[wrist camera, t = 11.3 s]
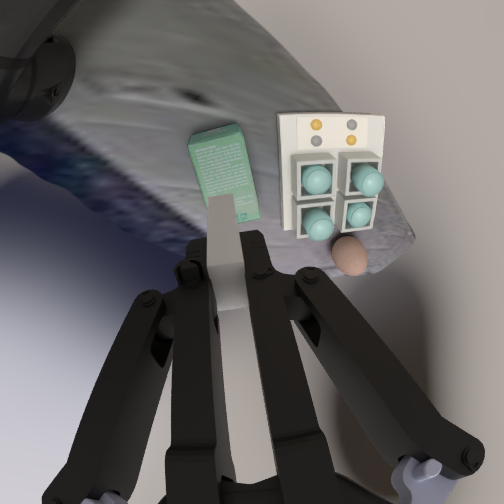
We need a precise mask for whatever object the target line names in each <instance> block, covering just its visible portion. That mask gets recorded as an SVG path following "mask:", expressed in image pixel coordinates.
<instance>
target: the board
mask: <svg viewBox="0 0 504 504" xmlns="http://www.w3.org/2000/svg"><path fill="white" fill-rule="evenodd" d="M276 114H277V131H278V149H279V170H280V195H281V225H282V227H283V230H284V231H285V230H292V229H293V232H294V234H295V236H296V238H297V239H299V238H306V237H309V236H308V234H307V232H306V230H305V228H304V227H303V224H302V218H303V215H304V214H305V213H306V212H307V211H308V210H309V209H311V208H315V207H319V208H322V209H324V210H325V211H326V212H327V214H328V215H329V217H330V218H331V219H332V221H333V223H334V224H336V226H337V227H338V229H339V230H340V231H341V233H343V232H350V231H358V230H365V229H372V226H373V220H374V216H375V210H376V203H377V196H378V194H377V195H375V196H372V197H367V196H364V195H363V194H362V193H361V192H360V191H359V190H358V189H357V188H356V187H355V186H354V185H353V184H352V182H351V174H352V171H353V170H354V168H355V167H356V166H358V165H359V164H362V163H366V164H369V165H371V166H372V167H374V168H375V169H376V170H378V171H379V172H380V173H381V164H382V154H383V143H384V129H385V116H383V115H380V114H370V113H352V112H351V113H350V112H293V113H276ZM314 164H322V165H323V166H324V167H325V168H326V169H327V170H328V171H329V172H330V174H331V177H332V182H331V185H330V187H329V189H328V190H327V191H325V192H324V193H322V194H318V195H314V194H311V193H309V192H308V191H307V190H306V189H305V187H304V186H303V185H302V183H301V166H302V165H314ZM357 202H365V203H366V204H367V206H368V207H369V208H370V209H371V212H372V216H371V219H370V221H369V222H368V223H367V224H366V225H365V226H363V227H360V228H355V227H353V226H351V224H350V223H349V222H348V220H347V219H346V215H347V206H348V203H357Z"/></svg>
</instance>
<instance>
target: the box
mask: <svg viewBox="0 0 504 504" xmlns="http://www.w3.org/2000/svg"><path fill="white" fill-rule="evenodd" d="M188 150H189V153H190V156H191V159H192V162H193V166H194V169H195V172H196V175H197V178H198V182H199V185H200V188H201V191H202V194H203V197H204V200H205V204H206V207H207V210H208V197H211V196H218V195H225V194H232V193H233V198H234V204H235V210H236V217H237V223H243V222H247V221H252V220H256V219H260V218H261V215H260V208H259V203H258V198H257V194H256V189H255V185H254V180H253V176H252V171H251V167H250V162H249V158H248V154H247V149H246V145H245V141H244V134H243V132H242V130H241V128H240V127H239V125H238V124H232V125H228V126H224V127H220V128H216V129H212V130H209V131H205V132H201V133H198V134H194V135H192V136H191V137H190V139H189V142H188Z"/></svg>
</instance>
